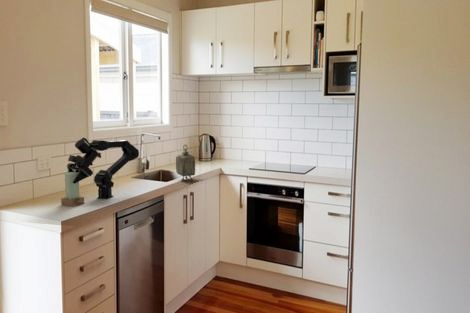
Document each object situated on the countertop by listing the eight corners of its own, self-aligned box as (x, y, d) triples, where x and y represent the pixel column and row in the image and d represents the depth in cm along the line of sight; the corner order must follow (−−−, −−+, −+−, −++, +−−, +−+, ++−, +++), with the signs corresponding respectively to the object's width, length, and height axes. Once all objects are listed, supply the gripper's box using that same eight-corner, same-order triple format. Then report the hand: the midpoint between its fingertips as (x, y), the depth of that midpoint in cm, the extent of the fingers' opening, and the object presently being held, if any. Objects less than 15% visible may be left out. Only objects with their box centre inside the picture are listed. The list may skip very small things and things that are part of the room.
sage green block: (75, 195, 212) (74, 171, 210) (79, 197, 209) (78, 173, 207) (66, 197, 208) (64, 173, 206) (70, 199, 205) (69, 174, 203)
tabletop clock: (195, 181, 272) (194, 145, 269) (183, 182, 268) (182, 145, 264) (187, 178, 284) (187, 143, 281) (175, 179, 280) (174, 144, 277)
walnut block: (74, 202, 214) (74, 195, 214) (84, 204, 210) (83, 196, 210) (61, 205, 208) (61, 198, 207) (71, 207, 204) (70, 199, 203)
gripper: (69, 148, 215) (50, 170, 208) (86, 150, 202) (66, 174, 195) (83, 161, 221) (65, 183, 215) (101, 164, 209) (82, 187, 202)
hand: (69, 182), depth 207 cm, fingers open, 9 cm apart
